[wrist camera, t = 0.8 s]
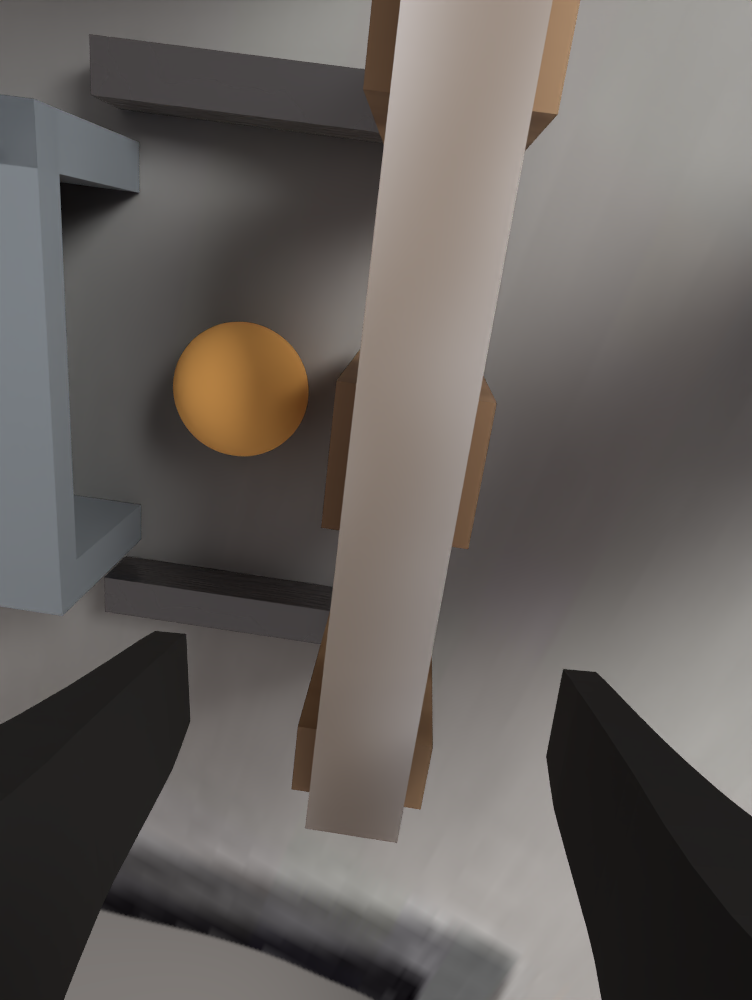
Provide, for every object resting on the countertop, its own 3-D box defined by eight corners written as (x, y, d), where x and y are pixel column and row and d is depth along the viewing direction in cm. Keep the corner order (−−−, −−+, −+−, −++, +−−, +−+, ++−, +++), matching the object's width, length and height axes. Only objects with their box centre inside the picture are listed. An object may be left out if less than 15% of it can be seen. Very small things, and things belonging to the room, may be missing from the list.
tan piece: (524, 82, 15) (603, -63, 8) (422, 655, 21) (420, 846, 14) (396, 66, 15) (372, -91, 8) (329, 641, 21) (282, 824, 14)
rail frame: (497, 102, 16) (504, 86, 14) (408, 631, 21) (407, 656, 20) (118, 53, 16) (89, 34, 15) (126, 588, 21) (105, 611, 20)
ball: (293, 299, 18) (263, 308, 15) (334, 418, 19) (315, 451, 16) (180, 338, 18) (127, 354, 15) (226, 451, 20) (185, 489, 16)
